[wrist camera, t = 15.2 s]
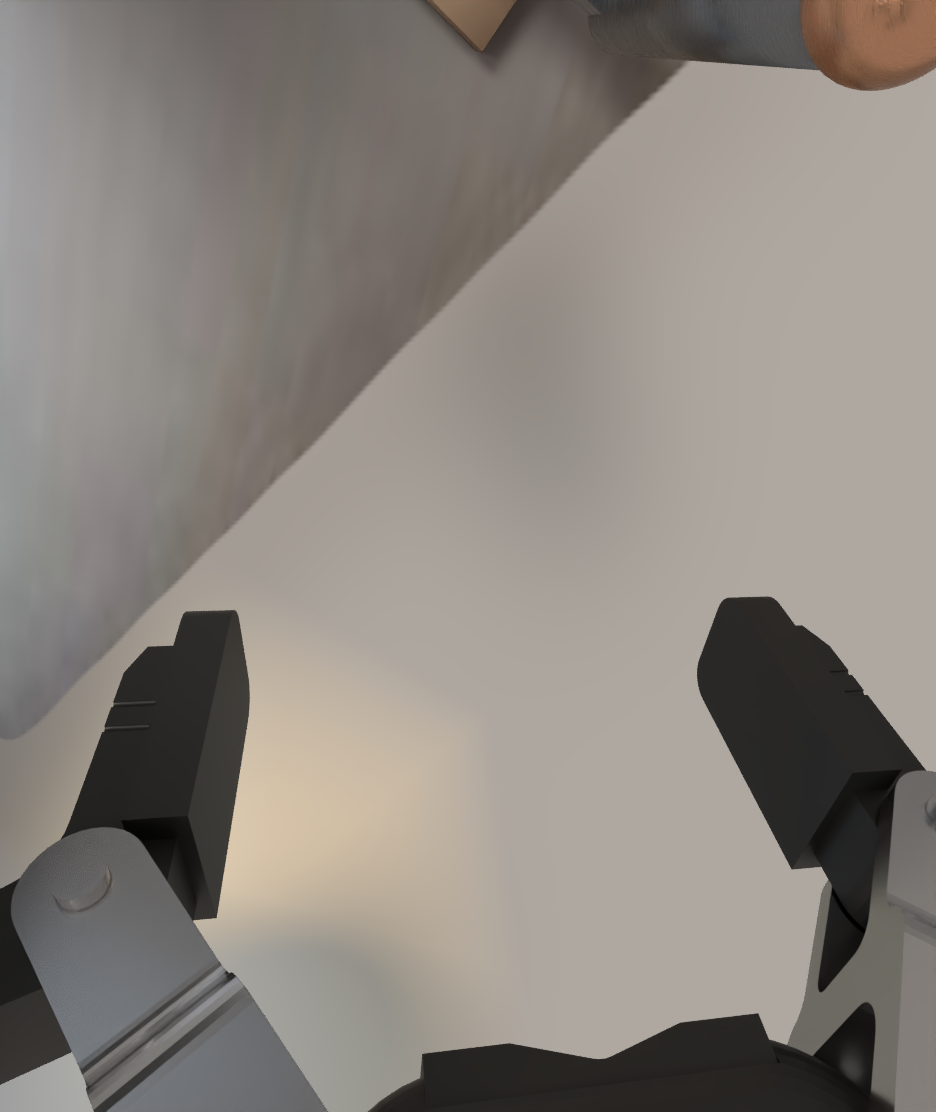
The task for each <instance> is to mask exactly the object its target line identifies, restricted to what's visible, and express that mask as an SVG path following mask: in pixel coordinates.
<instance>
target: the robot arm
mask: <svg viewBox="0 0 936 1112" xmlns="http://www.w3.org/2000/svg"><path fill="white" fill-rule="evenodd" d="M697 679H698V686H699V690H700V693H701V696H702V698H703V700H704V702H705V704H706V706H707V708H708V710H709V712H710V714H711V715H712V717H713V719H714V721H715V723H716V725H717V727H718V729H719V731H720V733H721V735H722V737H723V739H724V741H725V742H726V744H727V746H728V748H729V750H730V752H731V754H732V756H733V758H734V760H735V761H736V764H737V765H738V767H739V769H740V771H741V773H742V775H743V777H744V779H745V781H746V783H747V785H748V787H749V788H750V790H751V792H752V794H753V796H754V798H755V800H756V802H757V804H758V806H759V808H760V810H761V811H762V813H763V815H764V817H765V819H766V821H767V823H768V825H769V827H770V828H771V831H772V832H773V834H774V836H775V838H776V840H777V842H778V844H779V846H780V848H781V850H782V852H783V854H784V855H785V857H786V859H787V861H788V863H789V865H790V867H791V869H802V868H813V867H822V869H823V871H824V872H825V874H826V876H827V878H828V879H829V880H828V881H827V883H826V884H825V886H824V888H823V890H822V894H821V899H820V905H819V911H818V917H817V924H816V930H815V936H814V942H813V948H812V955H811V961H810V967H809V973H808V979H807V986H806V992H805V997H804V1002H803V1005H802V1009H801V1012H800V1014H799V1017H798V1020H797V1022H796V1024H795V1026H794V1028H793V1030H792V1033H791V1035H790V1039H789V1041H788V1044H787V1045H785V1044H782V1043H779V1042H776V1041H772V1040H769V1039H768V1036H767V1034H766V1031H765V1029H764V1026H763V1024H762V1022H761V1019H760V1017H759V1014H749V1015H741V1016H733V1017H724V1018H716V1019H708V1020H699V1021H691V1022H683V1023H679V1024H677V1025H675V1026H673V1027H671V1028H669V1029H666V1030H664V1031H662V1032H660V1033H658V1034H656V1035H654V1036H652V1037H650V1038H648V1039H646V1040H644V1041H642V1042H640V1043H638V1044H636V1045H634V1046H632V1047H630V1048H628V1049H626V1050H624V1051H622V1052H620V1053H617V1054H615V1055H613V1056H611V1057H609V1058H606V1059H591V1058H586V1057H581V1056H575V1055H569V1054H564V1053H559V1052H553V1051H548V1050H542V1049H537V1048H531V1047H526V1046H521V1045H514V1044H500V1045H492V1046H484V1047H476V1048H467V1049H459V1050H451V1051H443V1052H434V1053H426V1054H422V1065H421V1076H420V1078H419V1079H417V1080H415V1081H413V1082H411V1083H409V1084H407V1085H405V1086H402V1087H401V1088H399V1089H398V1090H396V1091H395V1092H393V1093H391V1094H390V1095H388V1096H387V1097H385V1098H384V1099H383V1100H381V1101H380V1102H379V1103H377V1104H376V1105H375V1106H374V1107H373V1108H372V1109H370V1110H369V1111H368V1112H936V772H932V771H926V770H925V768H924V767H923V766H922V765H921V763H920V762H919V761H918V760H917V758H916V757H915V756H914V754H913V753H912V752H911V750H910V749H909V748H908V747H907V745H906V744H905V743H904V742H903V740H902V739H901V738H900V736H899V735H898V734H897V733H896V731H895V730H894V729H893V727H892V726H891V725H890V723H889V722H888V721H887V720H886V718H885V717H884V716H883V715H882V713H881V712H880V711H879V709H878V708H877V707H876V705H875V704H874V703H873V701H872V700H871V699H870V698H869V696H868V695H864V693H863V689H862V687H861V686H860V685H859V683H858V682H857V681H856V679H855V678H854V677H853V676H852V675H849V674H848V669H847V668H846V667H845V665H844V664H843V663H842V661H841V660H840V659H839V658H838V656H837V655H836V654H835V652H834V651H833V650H832V649H831V647H830V646H829V645H827V644H826V643H825V642H823V641H822V640H821V639H820V638H818V637H817V636H816V635H814V634H813V633H811V632H810V631H809V630H807V629H806V628H805V627H803V626H795V625H794V623H793V622H792V620H791V619H790V618H789V616H788V615H787V614H786V612H785V611H784V610H783V608H782V607H781V606H780V604H779V603H778V602H777V601H776V600H775V599H774V598H772V597H739V598H726V599H724V600H723V601H722V602H721V604H720V606H719V608H718V610H717V613H716V616H715V618H714V621H713V624H712V627H711V629H710V632H709V635H708V638H707V640H706V643H705V646H704V648H703V651H702V654H701V657H700V659H699V662H698V668H697ZM249 694H250V693H249V679H248V673H247V666H246V660H245V654H244V648H243V641H242V635H241V629H240V623H239V617H238V614H237V612H236V611H235V610H227V611H226V610H225V611H192V612H191V611H190V612H185V613H184V614H183V617H182V619H181V622H180V625H179V629H178V632H177V635H176V639H175V642H174V645H173V646H157V647H147V648H146V650H144V652H143V653H142V654H141V655H140V656H139V657H138V658H137V659H136V660H135V661H134V662H133V663H132V664H131V666H130V667H129V668H128V669H127V670H126V671H125V672H124V674H123V677H122V680H121V682H120V685H119V688H118V690H117V693H116V696H115V699H114V701H113V702H114V706H113V707H112V708H111V710H110V712H109V715H108V718H107V721H106V723H105V731H104V732H102V734H101V737H100V740H99V742H98V745H97V748H96V751H95V753H94V756H93V759H92V762H91V764H90V768H89V770H88V773H87V775H86V778H85V781H84V784H83V786H82V789H81V792H80V795H79V798H78V800H77V803H76V805H75V808H74V811H73V814H72V816H71V819H70V822H69V824H68V827H67V829H66V831H65V833H64V835H63V836H62V838H61V840H59V841H57V842H56V843H54V844H53V845H52V846H50V847H48V848H47V849H46V850H45V851H43V852H42V853H41V854H40V855H39V856H38V857H37V858H36V859H35V860H34V861H33V862H32V863H31V864H30V865H29V866H28V868H27V869H26V870H25V872H24V873H23V875H22V876H21V878H19V879H18V880H16V881H15V882H12V883H11V884H9V885H7V886H5V887H3V888H1V889H0V1085H1V1084H3V1083H5V1082H7V1081H9V1080H11V1079H14V1078H16V1077H18V1076H20V1075H22V1074H25V1073H27V1072H29V1071H31V1070H33V1069H36V1068H37V1067H40V1066H42V1065H44V1064H47V1063H49V1062H51V1061H53V1060H55V1059H58V1058H60V1057H62V1056H64V1055H66V1054H69V1053H71V1052H72V1053H73V1055H74V1057H75V1059H76V1061H77V1064H78V1066H79V1068H80V1070H81V1072H82V1075H83V1077H84V1079H85V1082H86V1085H87V1087H86V1091H87V1094H88V1097H89V1100H90V1103H91V1105H92V1108H93V1110H94V1112H328V1111H327V1109H326V1108H325V1106H324V1105H323V1103H322V1102H321V1100H320V1099H319V1097H318V1096H317V1094H316V1093H315V1091H314V1090H313V1088H312V1086H311V1085H310V1083H309V1082H308V1081H307V1079H306V1078H305V1076H304V1074H303V1073H302V1071H301V1070H300V1068H299V1067H298V1065H297V1064H296V1062H295V1061H294V1059H293V1058H292V1056H291V1055H290V1053H289V1052H288V1050H287V1049H286V1047H285V1046H284V1044H283V1043H282V1041H281V1040H280V1038H279V1037H278V1035H277V1033H276V1032H275V1030H274V1029H273V1027H272V1026H271V1024H270V1023H269V1021H268V1020H267V1018H266V1017H265V1015H264V1014H263V1012H262V1011H261V1009H260V1008H259V1006H258V1005H257V1003H256V1002H255V1000H254V999H253V997H252V996H251V994H250V993H249V992H248V990H247V989H246V987H245V986H244V985H243V983H242V982H241V981H240V980H239V979H238V977H237V976H236V975H234V974H233V973H228V972H227V971H226V970H225V969H224V968H223V966H222V965H221V963H220V962H219V961H218V959H217V958H216V956H215V954H214V953H213V951H212V950H211V948H210V947H209V945H208V944H207V942H206V941H205V939H204V937H203V936H202V934H201V933H200V931H199V930H198V928H197V927H196V925H195V924H194V922H193V920H200V919H211V918H217V912H218V906H219V899H220V893H221V887H222V881H223V874H224V868H225V862H226V855H227V849H228V842H229V837H230V830H231V824H232V818H233V811H234V805H235V798H236V792H237V785H238V779H239V774H240V767H241V761H242V754H243V748H244V742H245V736H246V730H247V723H248V716H249V701H250V697H249V696H250V695H249Z"/></svg>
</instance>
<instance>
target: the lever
mask: <svg viewBox="0 0 936 1112" xmlns="http://www.w3.org/2000/svg"><path fill="white" fill-rule="evenodd" d="M573 1H574V2H575V3H576V4H577V5H578V6H579V7H580V8H581V9H582V10H583V11H584V12H585V13H586V14H587V15H588V20H589V26H590V30H591V33H592V36H593V38H594V40H595V41H596V43H597V44H598V45H599V46H600V47H601V48H602V49H603V50H604V51H606V52H608V53H610V54H613V55H622V56H635V57H649V58H662V59H676V60H689V61H703V62H717V63H730V64H743V65H756V66H757V65H758V66H770V67H783V68H796V69H811V70H820V71H821V72H822V73H823V74H824V75H825V76H827V77H828V78H830V79H831V80H833V81H834V82H836V83H837V84H840V85H842V86H844V87H848V88H852V89H856V90H867V91H876V90H884V89H890V88H893V87H897V86H900V85H904V84H906V83H909V82H911V81H914V80H916V79H918V78H920V77H921V76H923V75H925V74H927V73H928V72H930V71H932V70H934V69H935V68H936V0H573Z"/></svg>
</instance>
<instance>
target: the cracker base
mask: <svg viewBox="0 0 936 1112" xmlns="http://www.w3.org/2000/svg"><path fill="white" fill-rule="evenodd" d="M427 1H428V2H429V3H430V4H431V5H432V6H433V7H434V8H435V9H436V10H437V11H438V12H439V13H440V14H441V15H442V16H443V17H444V18H445V19H446V20H447V22H448V23H449V24H450V25H451V26H452V27H453V28H454V29H455V30H456V31H457V32H458V33H459V34H460V35H461V36H462V37H463V38H464V39H465V40H466V41H467V42H468V43H469V44H470V45H471V46H472V47H473V48H474V49H475V50H476V51H483V50H484V48H485V47H486V45H487V44H488V42H489V41H490V39H491V38H492V36H493V35H494V33H495V32H496V30H497V29H498V27H499V26H500V24H501V23H502V21H503V20H504V18H505V17H506V15H507V14H508V12H509V11H510V9H511V8H512V6H513V4H514V3H515V1H516V0H427Z"/></svg>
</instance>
